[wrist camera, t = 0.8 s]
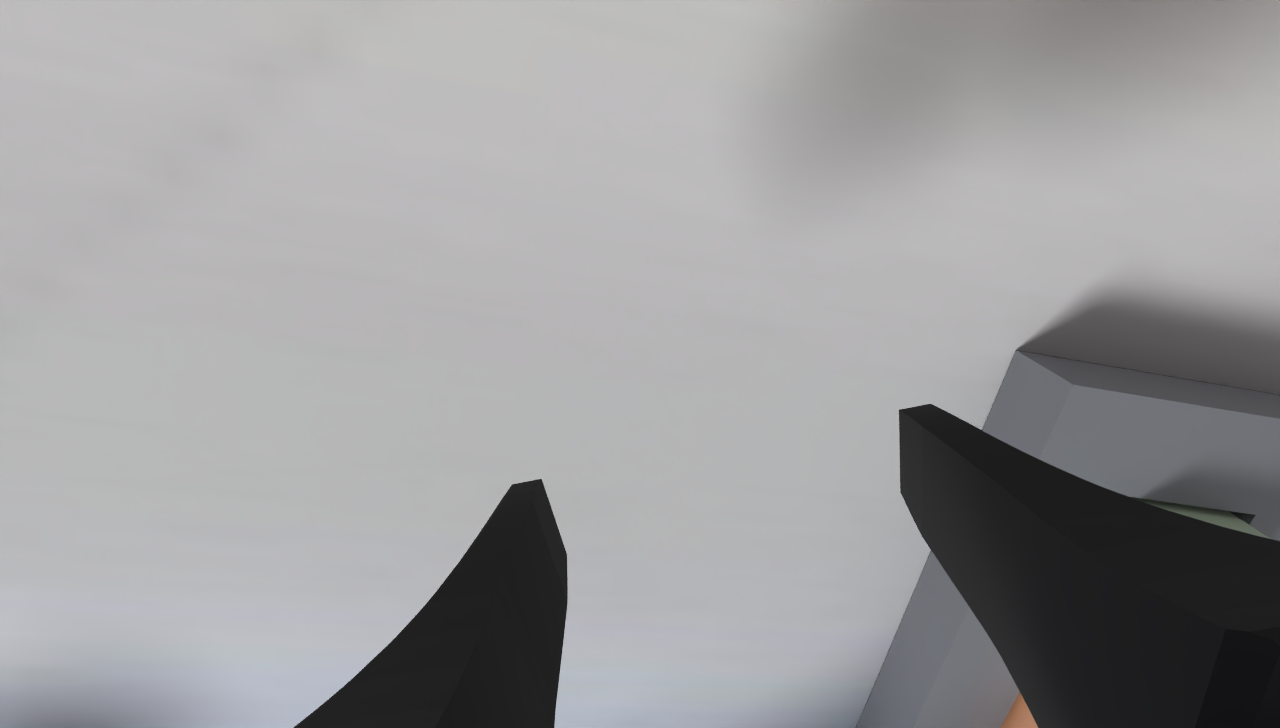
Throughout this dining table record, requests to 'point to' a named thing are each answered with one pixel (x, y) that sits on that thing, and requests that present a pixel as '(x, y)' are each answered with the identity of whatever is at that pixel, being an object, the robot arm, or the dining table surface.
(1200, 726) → the robot arm
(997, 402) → the button panel
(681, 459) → the dining table surface
